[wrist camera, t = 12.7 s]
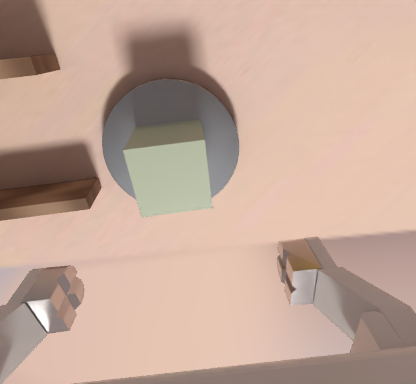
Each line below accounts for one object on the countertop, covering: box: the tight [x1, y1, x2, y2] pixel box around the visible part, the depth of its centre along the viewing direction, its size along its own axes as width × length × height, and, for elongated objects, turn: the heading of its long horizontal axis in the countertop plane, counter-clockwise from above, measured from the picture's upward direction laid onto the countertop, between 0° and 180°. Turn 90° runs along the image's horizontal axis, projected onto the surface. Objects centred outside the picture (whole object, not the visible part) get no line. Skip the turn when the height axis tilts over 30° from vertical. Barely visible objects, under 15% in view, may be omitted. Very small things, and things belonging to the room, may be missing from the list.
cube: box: [123, 119, 212, 217], centre depth 19 cm, size 5×5×5 cm
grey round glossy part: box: [102, 78, 239, 200], centre depth 22 cm, size 11×11×1 cm
